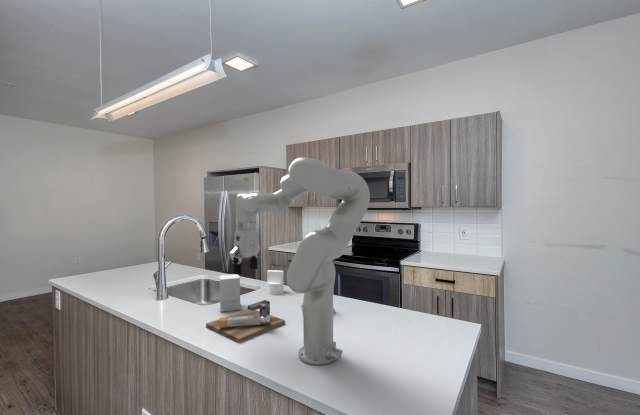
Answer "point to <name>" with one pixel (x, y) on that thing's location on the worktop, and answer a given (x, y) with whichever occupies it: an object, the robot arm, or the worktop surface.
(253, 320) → the link
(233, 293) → the supplement box
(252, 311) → the board
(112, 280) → the worktop surface
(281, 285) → the cylinder with rectangular tab
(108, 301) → the worktop surface
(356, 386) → the worktop surface
